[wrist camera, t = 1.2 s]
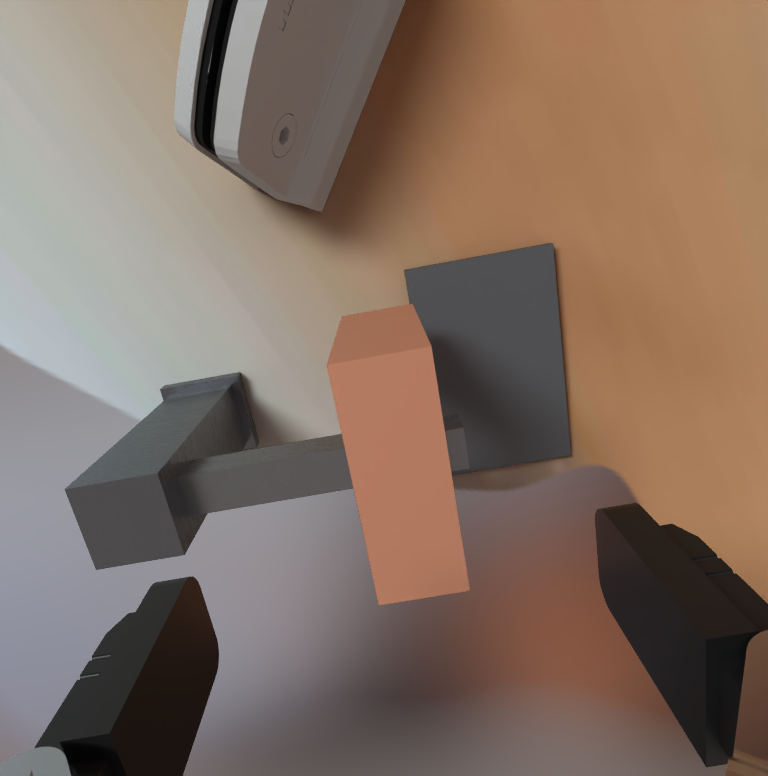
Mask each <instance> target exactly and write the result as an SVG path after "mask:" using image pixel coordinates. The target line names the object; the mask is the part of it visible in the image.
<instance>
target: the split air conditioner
mask: <svg viewBox="0 0 768 776" xmlns="http://www.w3.org/2000/svg"><path fill="white" fill-rule="evenodd" d="M405 1H406V0H189V3H188V8H187V13H186V18H185V23H184V29H183V34H182V41H181V48H180V55H179V62H178V72H177V82H176V94H175V113H174V122H175V128H176V130H177V132H178V133H179V135H180V136H181V137H183V138H184V139H185V140H186V141H187V142H189V143H190V144H191V145H192V146H194V147H195V148H196V149H197V150H199V151H200V152H202V153H203V154H205V155H206V156H207V157H209V158H210V159H212V160H213V161H215V162H216V163H218V164H219V165H221V166H222V167H224V168H225V169H227V170H228V171H230V172H231V173H233V174H234V175H236V176H237V177H238V178H240V179H241V180H243V181H244V182H246V183H247V184H249V185H250V186H252V187H253V188H255V189H256V190H258V188H261V189H262V190H263V191H265V192H266V193H268V194H269V195H271V196H272V197H274V198H275V199H277V200H281V201H285V202H289V203H293V204H297V205H301V206H304V207H307V208H310V209H313V210H316V211H320V212H322V211H323V208H324V206H325V203H326V201H327V198H328V196H329V193H330V191H331V188H332V186H333V183H334V181H335V178H336V176H337V173H338V171H339V168H340V165H341V163H342V160H343V158H344V155H345V153H346V150H347V148H348V145H349V143H350V140H351V138H352V135H353V133H354V130H355V128H356V125H357V123H358V120H359V117H360V115H361V112H362V110H363V107H364V105H365V102H366V100H367V97H368V95H369V92H370V90H371V87H372V85H373V82H374V80H375V77H376V75H377V72H378V69H379V67H380V64H381V62H382V59H383V57H384V54H385V52H386V49H387V47H388V44H389V42H390V39H391V37H392V34H393V32H394V29H395V27H396V24H397V21H398V19H399V16H400V14H401V11H402V9H403V6H404V4H405Z"/></svg>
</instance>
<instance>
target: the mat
mask: <svg viewBox="0 0 768 776" xmlns="http://www.w3.org/2000/svg"><path fill="white" fill-rule="evenodd" d="M404 272H405V278H406V284H407V290H408V296H409V302H410V304H413V306H414V308H415V310H416V313H417V315H418V317H419V319H420V322H421V324H422V326H423V328H424V331H425V333H426V335H427V337H428V340H429V342H430V344H431V346H432V353H433V359H434V365H435V372H436V378H437V384H438V391H439V397H440V404H441V410H442V416H448V415H453V414H458V416H459V418H460V420H461V423H462V425H463V427H464V434H465V441H466V447H467V454H468V461H469V469H463V470H457V471H451V474H452V475H458V474H464V473H470V472H476V471H481V470H487V469H493V468H499V467H505V466H511V465H517V464H523V463H528V462H534V461H540V460H546V459H552V458H558V457H564V456H569V455H571V447H570V436H569V424H568V412H567V400H566V389H565V377H564V365H563V353H562V342H561V330H560V318H559V307H558V295H557V283H556V271H555V260H554V248H553V244H552V243H548V244H543V245H537V246H532V247H526V248H521V249H516V250H510V251H505V252H499V253H494V254H488V255H483V256H477V257H472V258H467V259H461V260H456V261H450V262H445V263H439V264H434V265H429V266H423V267H418V268H412V269H407V270H404Z"/></svg>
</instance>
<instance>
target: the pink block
mask: <svg viewBox="0 0 768 776" xmlns="http://www.w3.org/2000/svg"><path fill="white" fill-rule="evenodd" d="M327 368H328V373H329V377H330V382H331V387H332V391H333V396H334V400H335V405H336V410H337V414H338V419H339V423H340V428H341V433H342V437H343V442H344V446H345V451H346V456H347V460H348V465H349V469H350V474H351V479H352V483H353V488H354V492H355V497H356V501H357V506H358V511H359V515H360V520H361V525H362V529H363V534H364V538H365V543H366V548H367V552H368V557H369V561H370V566H371V571H372V575H373V580H374V585H375V589H376V593H377V598H378V602H379V605H383V604H390V603H396V602H402V601H408V600H415V599H420V598H427V597H433V596H439V595H445V594H451V593H457V592H464V591H469V590H470V588H469V582H468V575H467V569H466V563H465V556H464V550H463V544H462V538H461V531H460V524H459V518H458V512H457V506H456V499H455V493H454V486H453V480H452V474H451V467H450V461H449V454H448V448H447V442H446V435H445V429H444V423H443V416H442V410H441V404H440V397H439V391H438V384H437V378H436V372H435V365H434V359H433V353H432V346H431V344H430V342H429V340H428V337H427V335H426V333H425V331H424V328H423V326H422V324H421V322H420V319H419V317H418V315H417V313H416V310H415V308H414V306H413V304H408V305H403V306H397V307H392V308H386V309H381V310H375V311H369V312H364V313H358V314H353V315H347V316H342V317H341V320H340V324H339V327H338V330H337V334H336V337H335V340H334V343H333V347H332V350H331V353H330V356H329V360H328V363H327Z"/></svg>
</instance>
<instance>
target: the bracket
mask: <svg viewBox="0 0 768 776" xmlns="http://www.w3.org/2000/svg"><path fill="white" fill-rule="evenodd" d="M160 390H161V394H162V397H163V400H164V401H163V402H162V403H161V404H160V405H159V406H158V407H157V408H155V409H154V410H153V411H152V412H151V413H150V414H149V415H148V416H146V417H145V418H144V419H143V420H142V421H141V422H140V423H139V424H138V425H136V426H135V427H134V428H133V429H132V430H131V431H130V432H129V433H127V434H126V435H125V436H124V437H123V438H122V439H121V440H119V441H118V442H117V443H116V444H115V445H114V446H113V447H112V448H111V449H109V450H108V451H107V452H106V453H105V454H104V455H103V456H102V457H100V458H99V459H98V460H97V461H96V462H95V463H94V464H93V465H91V466H90V467H89V468H88V469H87V470H86V471H85V472H84V473H82V474H81V475H80V476H79V477H78V478H77V479H76V480H75V481H73V482H72V483H71V484H70V485H69V486H68V487H67V488H66V489H65V491H66V494H67V497H68V499H69V502H70V504H71V507H72V509H73V512H74V514H75V517H76V520H77V522H78V525H79V527H80V530H81V532H82V535H83V537H84V540H85V543H86V545H87V548H88V550H89V553H90V555H91V558H92V560H93V563H94V566H95V568H96V570H98V569H104V568H110V567H116V566H122V565H128V564H133V563H139V562H145V561H152V560H157V559H163V558H169V557H175V556H180V555H185V553H186V551H187V550H188V548H189V546H190V544H191V542H192V540H193V539H194V537H195V535H196V533H197V531H198V530H199V528H200V526H201V524H202V522H203V521H204V519H205V517H206V515H207V513H211V512H217V511H223V510H229V509H234V508H240V507H245V506H252V505H257V504H264V503H270V502H275V501H281V500H287V499H293V498H298V497H305V496H311V495H316V494H322V493H328V492H334V491H340V490H346V489H352V488H353V483H352V479H351V474H350V469H349V465H348V460H347V456H346V451H345V446H344V442H343V437H342V434H339V435H333V436H327V437H321V438H316V439H310V440H304V441H299V442H293V443H287V444H281V445H276V446H270V447H264V448H258V449H253V450H247V451H242V450H245V449H251V448H256V447H257V445H258V443H259V442H258V438H257V434H256V430H255V427H254V423H253V419H252V415H251V412H250V408H249V404H248V400H247V397H246V393H245V389H244V385H243V382H242V378H241V374H240V372H238V373H233V374H227V375H222V376H216V377H211V378H205V379H199V380H194V381H188V382H183V383H177V384H171V385H166V386H164V387H162V388H161V389H160ZM443 423H444V429H445V435H446V442H447V448H448V454H449V461H450V467H451V471H457V470H463V469H469V461H468V454H467V447H466V441H465V434H464V427H463V425H462V423H461V420H460V418H459V416H458V414H453V415H448V416H443Z"/></svg>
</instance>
